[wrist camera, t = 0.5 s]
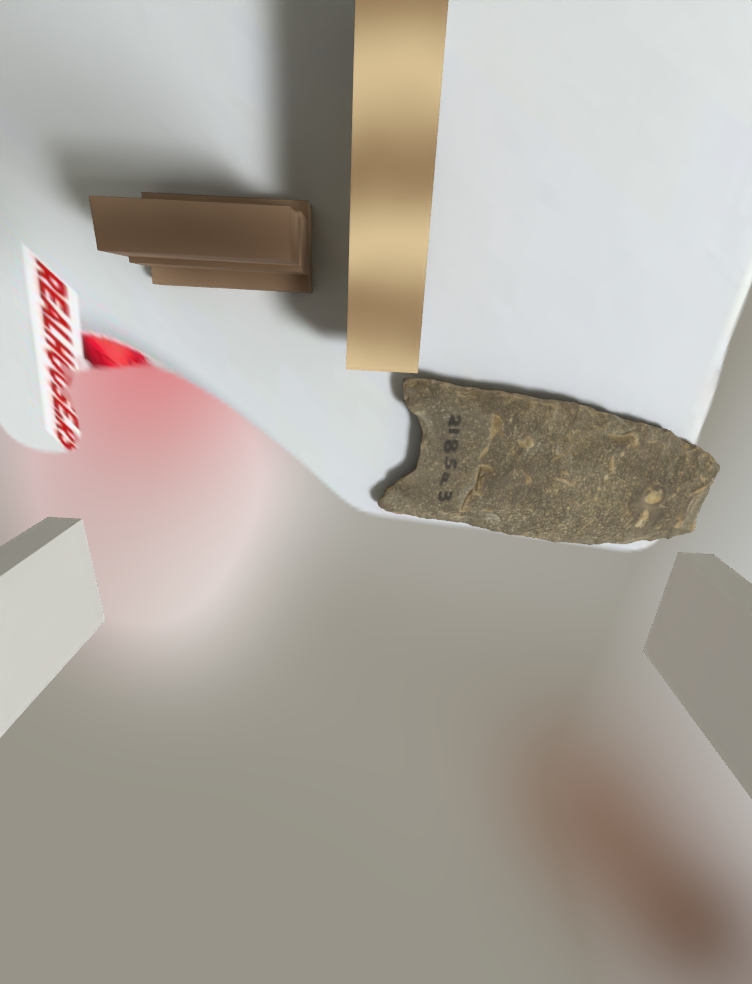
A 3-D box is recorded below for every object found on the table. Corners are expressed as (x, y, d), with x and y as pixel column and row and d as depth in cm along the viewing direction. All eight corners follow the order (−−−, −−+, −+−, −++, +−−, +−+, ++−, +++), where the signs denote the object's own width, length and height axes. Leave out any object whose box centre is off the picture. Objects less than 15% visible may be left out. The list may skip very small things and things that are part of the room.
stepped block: (153, 197, 28) (83, 164, 22) (311, 206, 28) (289, 174, 22) (163, 284, 30) (102, 277, 24) (312, 293, 30) (291, 288, 24)
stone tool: (375, 508, 36) (672, 553, 37) (374, 523, 34) (694, 571, 35) (399, 370, 32) (730, 424, 33) (400, 375, 30) (760, 434, 31)
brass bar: (363, -45, 22) (358, -118, 18) (445, -41, 22) (457, -114, 18) (351, 361, 29) (346, 369, 25) (413, 365, 29) (417, 373, 25)
